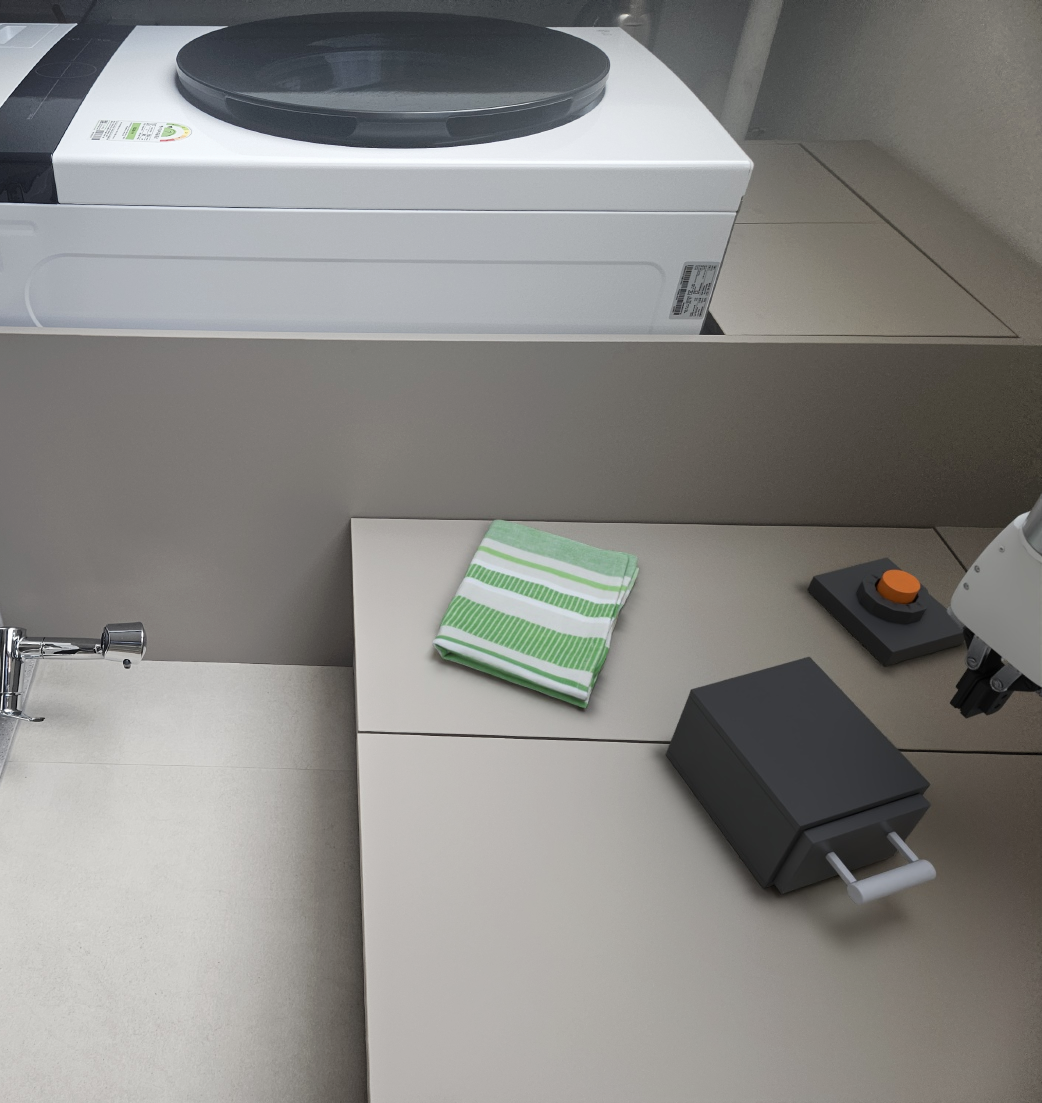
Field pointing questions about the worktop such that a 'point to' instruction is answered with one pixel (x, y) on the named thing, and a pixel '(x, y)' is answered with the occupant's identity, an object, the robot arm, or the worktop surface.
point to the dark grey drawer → (860, 851)
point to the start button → (898, 586)
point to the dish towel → (537, 610)
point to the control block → (885, 613)
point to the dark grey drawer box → (784, 759)
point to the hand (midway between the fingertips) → (971, 706)
